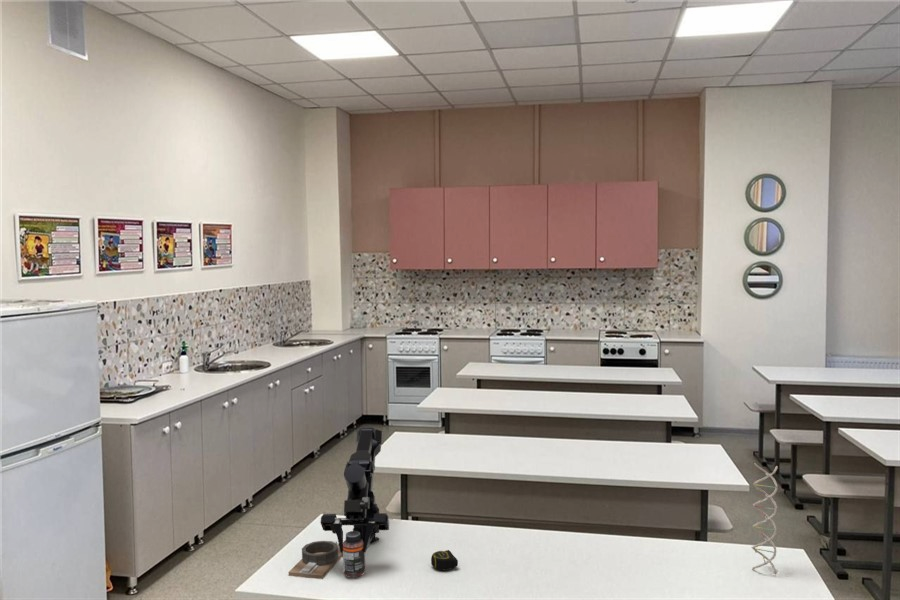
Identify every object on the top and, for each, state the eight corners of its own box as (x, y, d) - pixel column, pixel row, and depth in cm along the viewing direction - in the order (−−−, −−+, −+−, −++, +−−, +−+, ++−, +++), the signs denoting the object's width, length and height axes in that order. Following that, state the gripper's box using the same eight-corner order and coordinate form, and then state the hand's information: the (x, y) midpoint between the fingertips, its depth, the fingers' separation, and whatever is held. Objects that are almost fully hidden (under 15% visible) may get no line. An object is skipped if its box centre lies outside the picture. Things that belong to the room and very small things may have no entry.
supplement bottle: (353, 566, 199) (352, 527, 198) (369, 571, 195) (368, 532, 194) (338, 574, 194) (337, 534, 193) (354, 580, 191) (353, 539, 190)
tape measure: (458, 570, 197) (458, 557, 196) (435, 574, 194) (435, 561, 194) (451, 560, 203) (451, 548, 203) (428, 564, 201) (428, 551, 201)
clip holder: (318, 545, 214) (318, 533, 214) (349, 548, 212) (349, 535, 211) (288, 575, 195) (288, 561, 194) (322, 578, 192) (321, 564, 192)
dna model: (777, 569, 194) (779, 462, 192) (776, 578, 189) (778, 469, 187) (751, 564, 198) (753, 459, 196) (749, 573, 192) (750, 465, 190)
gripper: (320, 486, 197) (314, 541, 187) (387, 485, 197) (384, 540, 187) (326, 503, 205) (320, 556, 195) (390, 502, 205) (387, 556, 195)
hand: (352, 552), depth 193 cm, fingers closed on supplement bottle, 6 cm apart
